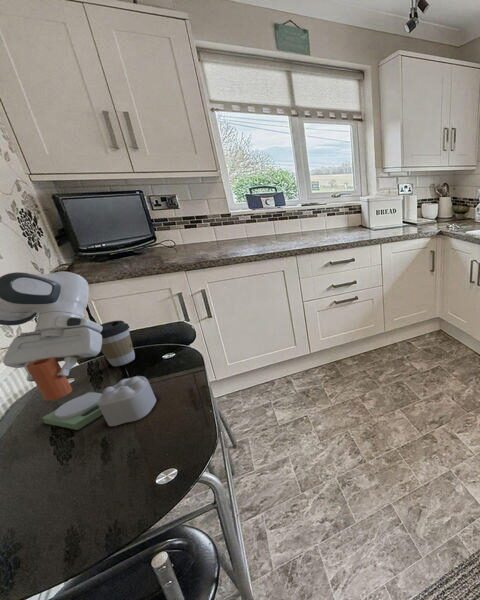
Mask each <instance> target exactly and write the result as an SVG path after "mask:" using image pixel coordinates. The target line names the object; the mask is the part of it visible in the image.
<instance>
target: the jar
mask: <svg viewBox="0 0 480 600" xmlns="http://www.w3.org/2000/svg"><path fill="white" fill-rule="evenodd" d="M59 363H60V362H58V361H57V359H56V358H55V357H52V358H46V359H39V360H36V361H33V362H31V363H29V364H28V365H27V366H26V367H27V369H28V371H29V373H30V374H31V376H32V378H33V379H34V381H33V382H34V383H35V385H36V386H37V389H38V390H39V392H40V393H41V395H42V397H43V399H44V400H45V401H51V402H52V401H55V400H58V399H62V398H64V397H66V396H67V395H69V394H70V393H72V391H73V388H72V387H73V386H71V383H70V381H69V380H68V378H67V376H63V377H60V376H57V370H58V369H61V368H62V366H61V365H60V364H59Z"/></svg>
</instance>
